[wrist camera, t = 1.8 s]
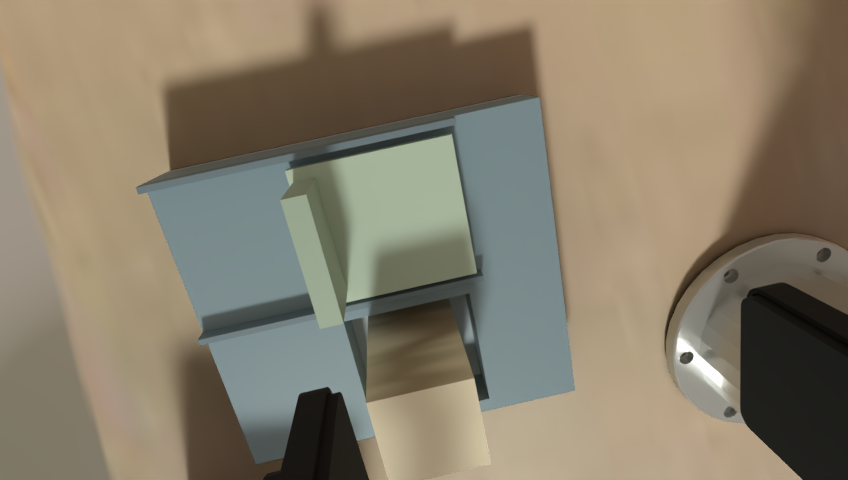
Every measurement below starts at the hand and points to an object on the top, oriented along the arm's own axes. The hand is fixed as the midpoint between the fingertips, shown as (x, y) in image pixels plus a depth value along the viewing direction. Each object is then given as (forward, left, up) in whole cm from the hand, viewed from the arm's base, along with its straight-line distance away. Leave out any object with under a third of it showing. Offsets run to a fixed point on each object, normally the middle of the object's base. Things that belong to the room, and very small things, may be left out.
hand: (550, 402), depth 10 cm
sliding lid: (+3, 0, -15) cm, 15 cm away
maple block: (+3, +8, -17) cm, 19 cm away
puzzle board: (+4, +4, -18) cm, 19 cm away
